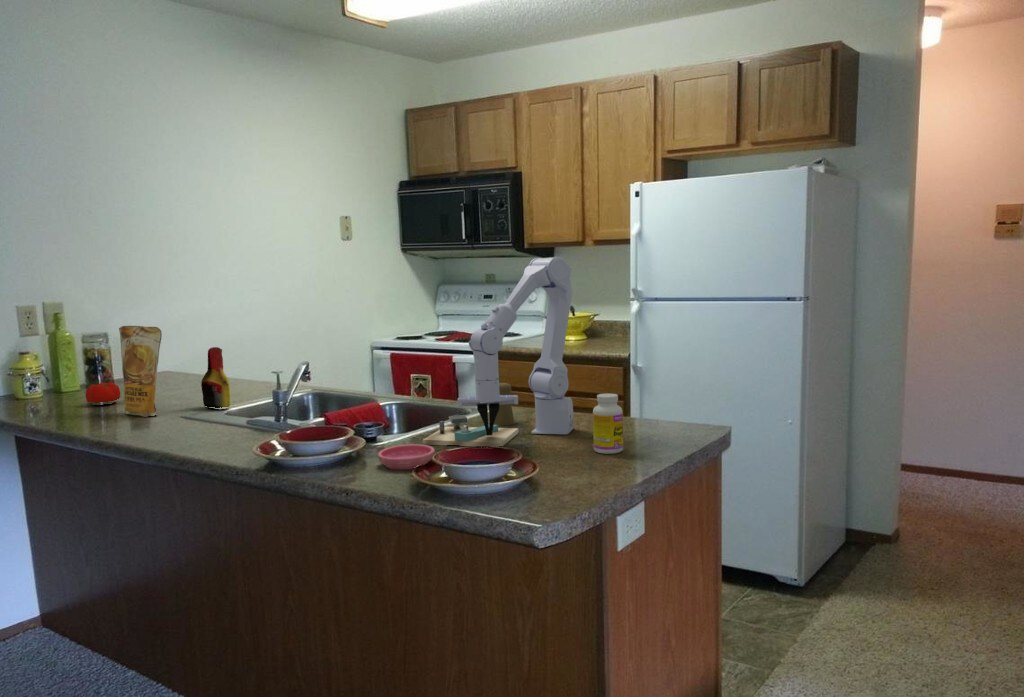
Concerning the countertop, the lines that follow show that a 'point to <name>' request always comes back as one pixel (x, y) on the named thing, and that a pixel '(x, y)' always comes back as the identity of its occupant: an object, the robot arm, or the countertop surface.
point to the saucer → (406, 456)
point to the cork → (504, 408)
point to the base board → (486, 440)
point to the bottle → (215, 381)
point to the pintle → (465, 428)
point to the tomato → (102, 392)
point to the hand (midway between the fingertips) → (489, 434)
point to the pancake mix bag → (140, 366)
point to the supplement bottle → (608, 425)
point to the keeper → (453, 422)
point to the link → (473, 433)
